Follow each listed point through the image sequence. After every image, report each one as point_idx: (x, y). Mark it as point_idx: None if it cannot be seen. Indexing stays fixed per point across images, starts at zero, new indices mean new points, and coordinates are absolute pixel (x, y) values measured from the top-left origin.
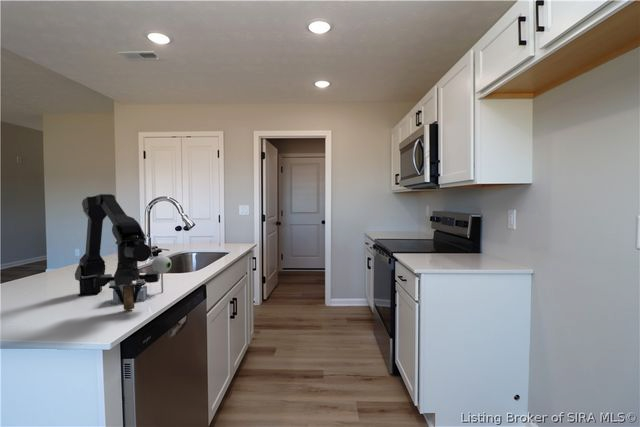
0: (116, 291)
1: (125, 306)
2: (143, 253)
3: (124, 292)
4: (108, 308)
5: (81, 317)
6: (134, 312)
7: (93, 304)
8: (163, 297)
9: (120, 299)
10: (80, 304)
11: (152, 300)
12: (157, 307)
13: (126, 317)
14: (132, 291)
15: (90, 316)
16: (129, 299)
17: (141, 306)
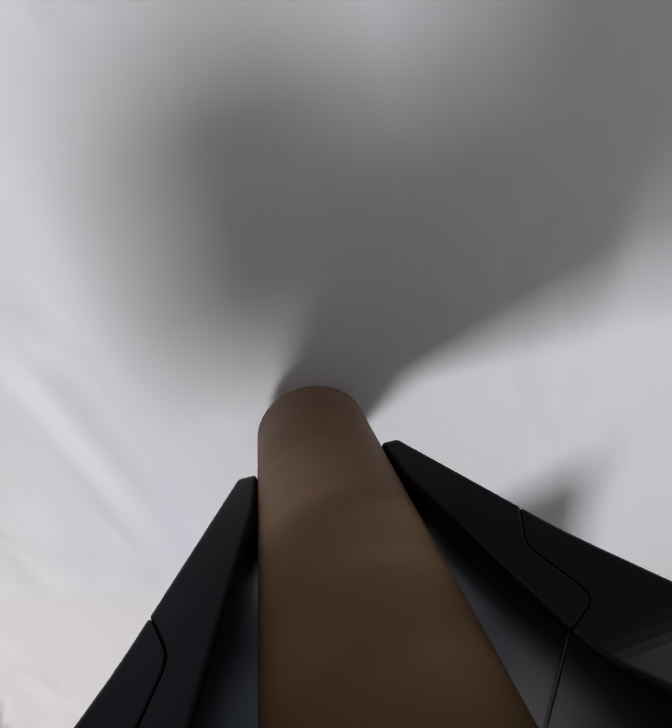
0: (649, 585)
1: (341, 407)
2: None
3: (443, 599)
4: (504, 478)
5: (666, 288)
6: (223, 361)
7: (605, 545)
8: None
9: (445, 473)
10: (668, 542)
11: None
12: (16, 499)
13: (239, 186)
14: (266, 677)
15: (606, 302)
16: (302, 479)
17: None
